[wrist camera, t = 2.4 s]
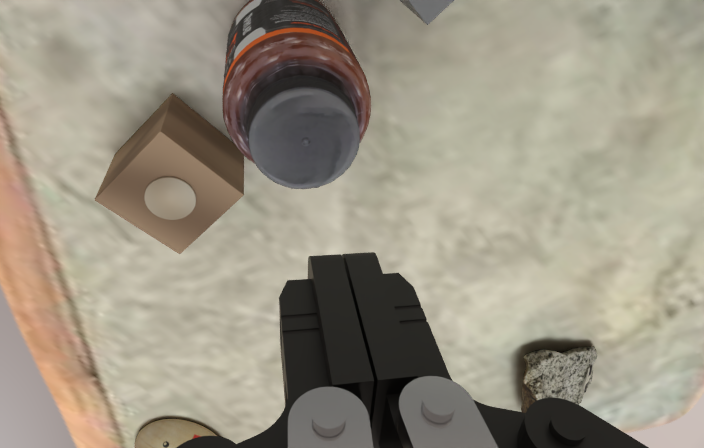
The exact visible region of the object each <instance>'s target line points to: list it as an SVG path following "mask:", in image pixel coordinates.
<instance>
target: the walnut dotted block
mask: <svg viewBox="0 0 704 448" xmlns="http://www.w3.org/2000/svg"><path fill="white" fill-rule="evenodd" d="M243 195H244V155H243V153H241V151H240V150H239V149H238V148H237V146H236V145H235V144H234V143H233V142H232V141H230V140H229V139H228V138H227V137H226V136H224V135H223V134H222V133H221V132H219V131H218V130H217V129H216V128H215V127H213V126H212V125H211V124H210V123H209V122H207V121H206V120H205V119H204V118H202V117H201V116H200V115H199V114H198V113H196V112H195V111H194V110H193V109H191V108H190V107H189V106H188V105H187V104H185V103H184V102H183V101H182V100H181V99H179V98H178V97H177V96H176V95H174V94H173V93H172V94H171V95H170V96H169V98H168V99H167V100H166V101H165V102H164V103H163V104H162V105H161V106H160V107H159V108H158V109H157V110H156V111H155V112H154V113H153V115H152V116H151V117H150V118H149V119H148V120H147V121H146V122H145V123H144V124H143V125H142V126H141V127H140V128H139V129H138V130H137V131H136V133H135V134H134V135H133V136H132V137H131V138H130V139H129V140H128V141H127V142H126V143H125V144H124V145H123V146H122V147H121V148H120V150H119V151H118V152H117V153H116V154H115V156H114V158H113V160H112V162H111V165H110V167H109V169H108V171H107V173H106V176H105V178H104V180H103V182H102V185H101V187H100V189H99V191H98V193H97V196H96V198H95V201H97V202H98V203H100V204H102V205H103V206H105V207H106V208H108V209H109V210H111V211H113V212H114V213H116V214H117V215H119V216H120V217H122V218H124V219H125V220H127V221H128V222H130V223H131V224H133V225H135V226H136V227H138V228H139V229H141V230H142V231H144V232H146V233H147V234H149V235H150V236H152V237H153V238H155V239H157V240H158V241H160V242H161V243H163V244H164V245H166V246H168V247H169V248H171V249H172V250H174V251H175V252H177V253H179V254H180V253H182V252H183V251H184V250H185V249H186V248H187V247H188V246H189V245H190V244H191V243H192V242H193V241H195V240H196V239H197V238H198V237H199V236H200V235H201V234H202V233H203V232H204V231H205V230H206V229H208V228H209V227H210V226H211V225H212V224H213V223H214V222H215V221H216V220H217V219H218V218H219V217H220V216H222V215H223V214H224V213H225V212H226V211H227V210H228V209H229V208H230V207H231V206H232V205H233V204H235V203H236V202H237V201H238V200H239V199H240V198H241V197H242V196H243Z"/></svg>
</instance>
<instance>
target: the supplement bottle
mask: <svg viewBox="0 0 704 448" xmlns="http://www.w3.org/2000/svg"><path fill="white" fill-rule="evenodd" d="M370 112H371V97H370V91H369V86H368V83H367V80H366V77H365V75H364V72H363V71H362V69H361V67H360V65H359V63H358V61H357V59H356V57H355V55H354V54H353V52H352V50H351V48H350V46H349V44H348V43H347V41H346V39H345V37H344V35H343V33H342V31H341V30H340V28H339V26H338V24H337V23H336V22H335V20H334V18H333V17H332V15H331V14H330V13H329V11H328V10H327V9H326V8H325V7H324V6H323V5H322V4H321V3H320V2H319V1H317V0H251V1H249V2H248V3H247V4H246V5H245V6H244V7H243V8H242V9H241V11H240V12H239V13H238V15H237V16H236V18H235V20H234V22H233V24H232V27H231V30H230V32H229V35H228V43H227V52H226V64H225V74H224V85H223V118H224V121H225V124H226V127H227V130H228V132H229V134H230V137H231V138H232V140H233V142H234V143H235V145H236V146H237V148H238V149H239V150H240V151H241V153H243V155H244V156H246V157H247V158H248V159H249V160H251V161H252V162H253V163H255V164H256V166H257V167H258V168H259V170H260V171H261V172H262V173H263V174H264V175H266V176H267V177H268V178H269V179H271V180H272V181H273V182H275V183H277V184H280V185H282V186H285V187H289V188H292V189H293V188H294V189H309V188H317V187H320V186H322V185H326V184H328V183H330V182H332V181H334V180H335V179H336V178H338V177H339V176H341V175H342V174H343V173H344V172H345V171H346V170H347V169H348V168H349V167H350V165H351V164H352V162H353V160H354V158H355V156H356V155H357V151H358V148H359V143H360V142H361V140H362V138H363V136H364V134H365V131H366V129H367V126H368V123H369V118H370Z"/></svg>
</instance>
